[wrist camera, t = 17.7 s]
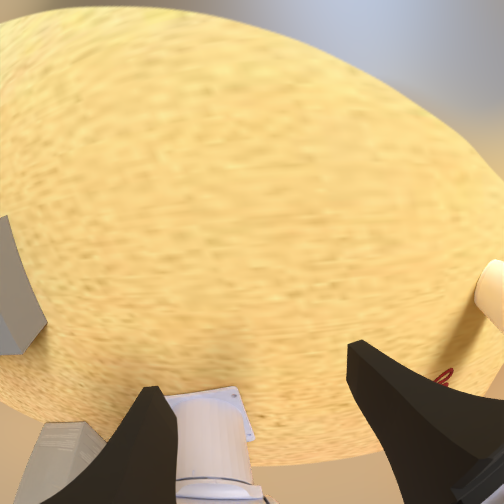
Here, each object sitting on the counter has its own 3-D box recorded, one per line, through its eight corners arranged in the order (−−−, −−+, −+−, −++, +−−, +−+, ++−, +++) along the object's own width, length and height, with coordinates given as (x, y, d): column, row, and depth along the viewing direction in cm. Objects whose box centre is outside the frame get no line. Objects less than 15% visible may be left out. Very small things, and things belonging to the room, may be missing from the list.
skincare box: (73, 448, 25) (52, 537, 10) (40, 416, 22) (6, 511, 7) (118, 449, 25) (104, 554, 10) (84, 416, 22) (53, 533, 8)
